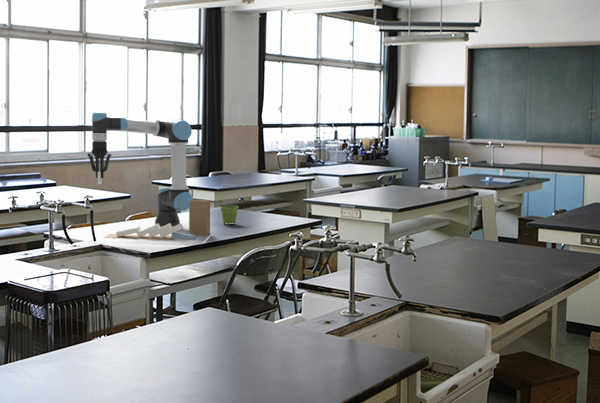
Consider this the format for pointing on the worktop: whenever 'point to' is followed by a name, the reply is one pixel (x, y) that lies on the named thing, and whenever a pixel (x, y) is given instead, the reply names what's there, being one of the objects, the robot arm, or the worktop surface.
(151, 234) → the tile
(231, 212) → the plant pot
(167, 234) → the tile
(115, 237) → the oak board
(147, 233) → the tile
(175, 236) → the tile
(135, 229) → the tile
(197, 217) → the wooden block
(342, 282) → the worktop surface
